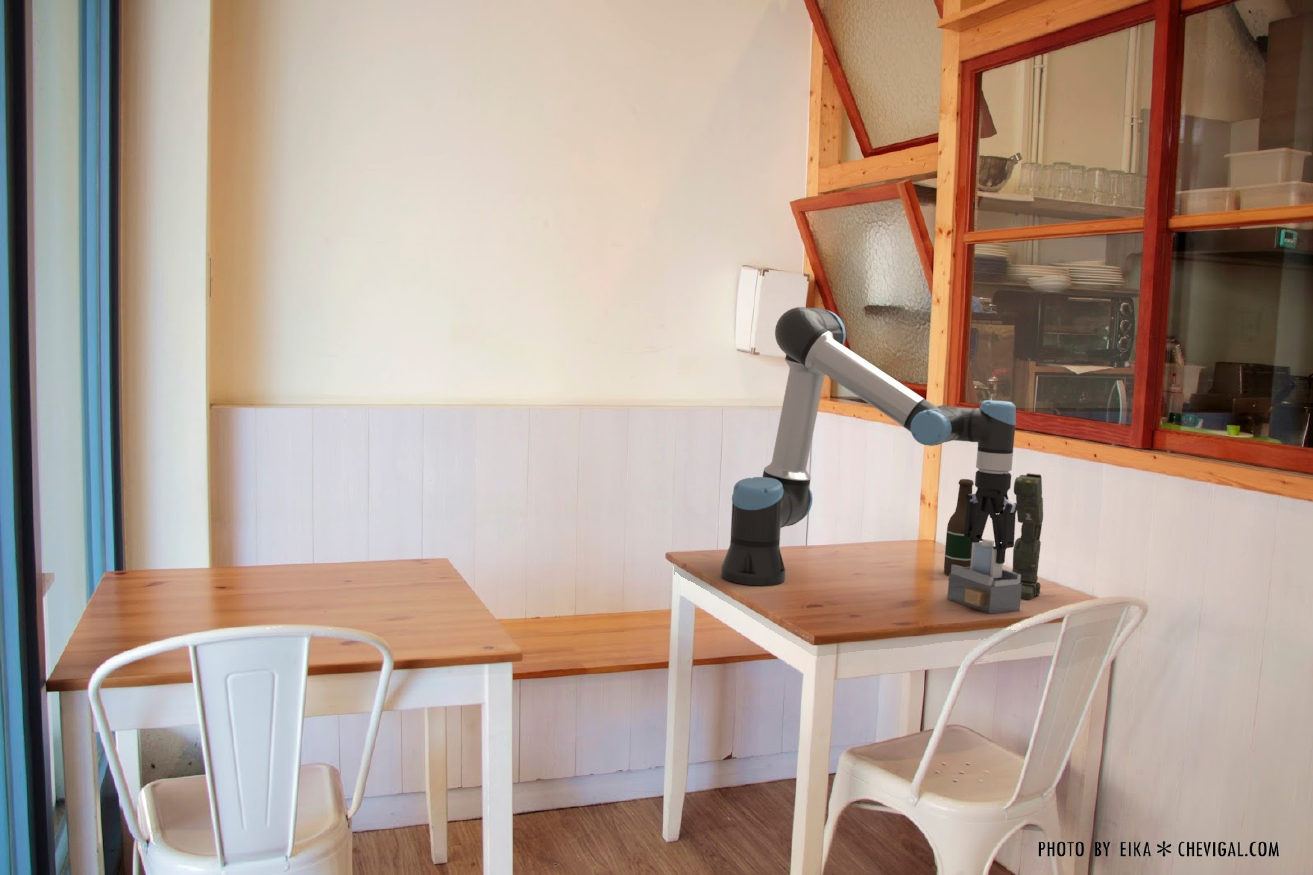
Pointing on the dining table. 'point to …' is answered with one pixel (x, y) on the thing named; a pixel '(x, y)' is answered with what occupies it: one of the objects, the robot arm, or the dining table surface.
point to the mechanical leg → (1028, 532)
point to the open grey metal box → (985, 590)
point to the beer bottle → (958, 531)
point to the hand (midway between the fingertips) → (985, 573)
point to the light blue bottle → (983, 557)
